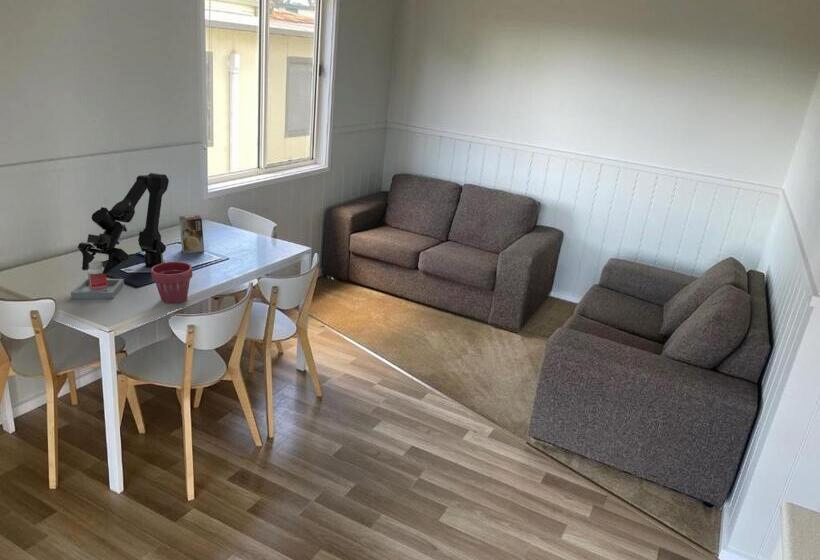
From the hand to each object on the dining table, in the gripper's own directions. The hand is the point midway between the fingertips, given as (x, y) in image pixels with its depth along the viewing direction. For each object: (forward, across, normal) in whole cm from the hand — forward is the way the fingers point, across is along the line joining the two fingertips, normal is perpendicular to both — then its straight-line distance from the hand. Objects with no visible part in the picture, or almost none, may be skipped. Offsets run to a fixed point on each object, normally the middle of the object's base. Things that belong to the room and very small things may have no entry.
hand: (93, 271), depth 232 cm
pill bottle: (+5, 0, +7) cm, 8 cm away
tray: (+5, 0, +7) cm, 9 cm away
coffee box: (-35, +3, +47) cm, 59 cm away
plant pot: (+2, +29, +11) cm, 31 cm away
